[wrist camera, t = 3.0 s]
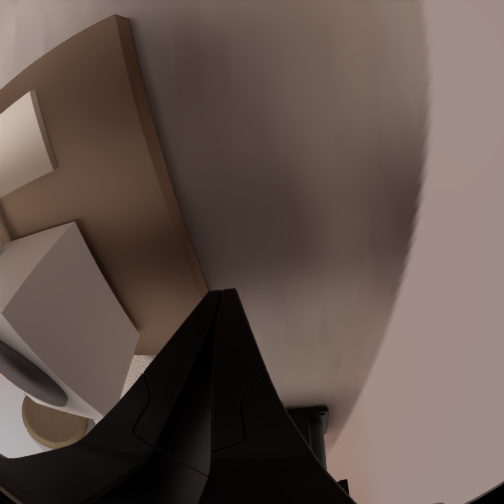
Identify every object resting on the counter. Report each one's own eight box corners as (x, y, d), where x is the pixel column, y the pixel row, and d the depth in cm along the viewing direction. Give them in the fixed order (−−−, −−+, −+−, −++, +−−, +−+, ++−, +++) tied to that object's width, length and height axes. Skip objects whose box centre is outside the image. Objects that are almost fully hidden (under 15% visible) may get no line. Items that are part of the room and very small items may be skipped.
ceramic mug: (98, 395, 20) (76, 468, 14) (107, 421, 24) (92, 478, 18) (9, 351, 18) (-20, 411, 12) (31, 386, 23) (11, 436, 17)
